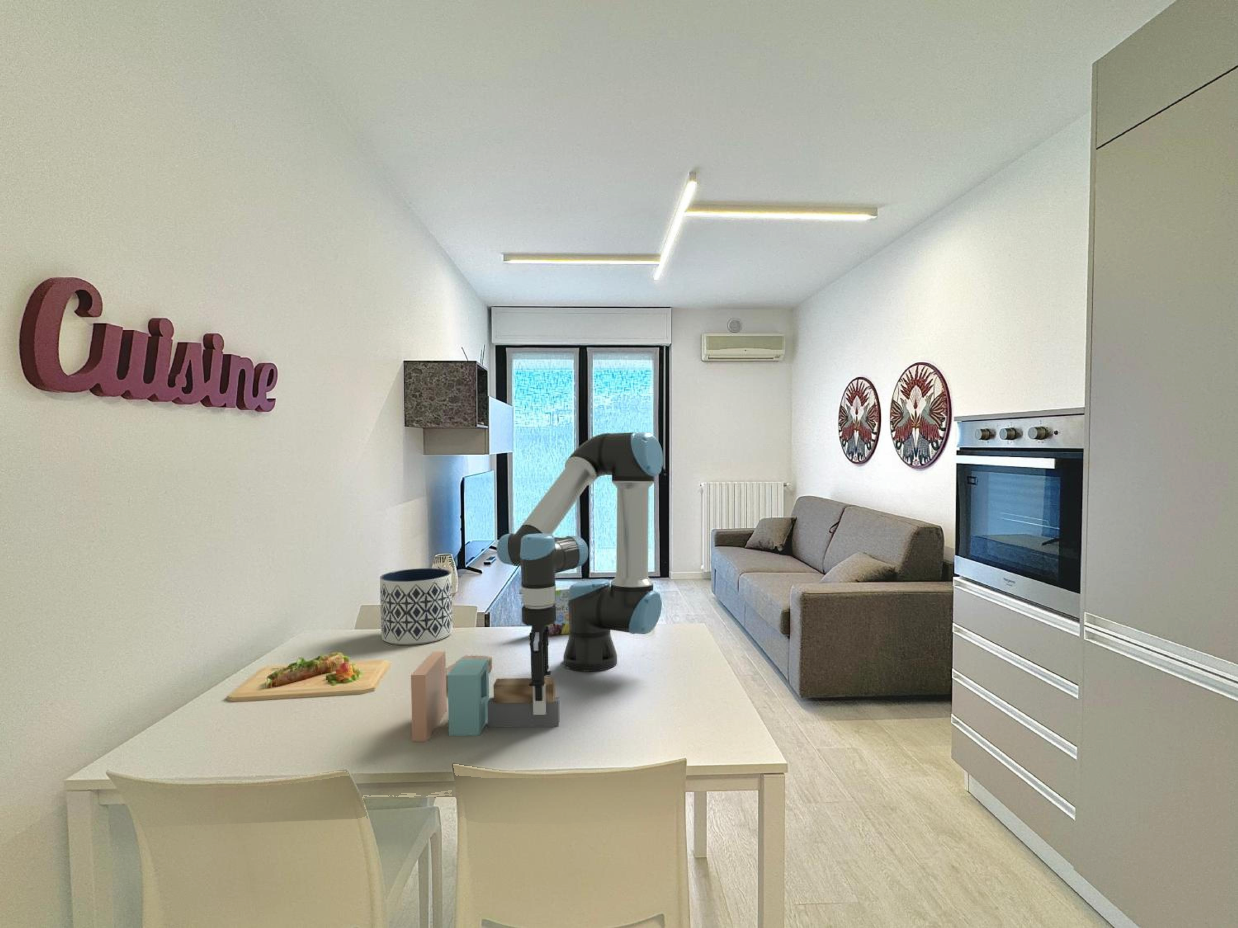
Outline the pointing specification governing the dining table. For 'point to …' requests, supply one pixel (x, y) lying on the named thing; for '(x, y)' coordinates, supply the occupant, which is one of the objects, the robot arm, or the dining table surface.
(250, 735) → the dining table surface
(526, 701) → the bar
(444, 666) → the base
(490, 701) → the rail
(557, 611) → the snack box
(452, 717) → the block
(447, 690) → the brick
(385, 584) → the planter
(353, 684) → the cutting board
